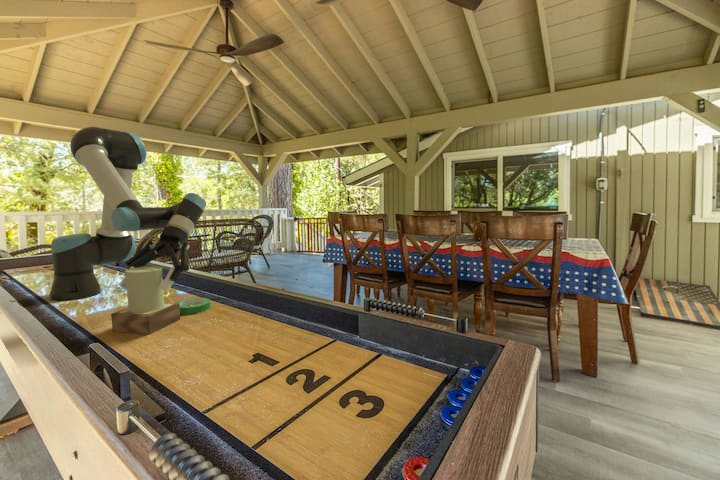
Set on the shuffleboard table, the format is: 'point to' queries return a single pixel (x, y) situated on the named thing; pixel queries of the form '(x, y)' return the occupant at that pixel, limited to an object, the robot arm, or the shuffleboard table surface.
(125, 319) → the plinth
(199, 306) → the tape roll
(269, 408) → the shuffleboard table surface
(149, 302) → the can
